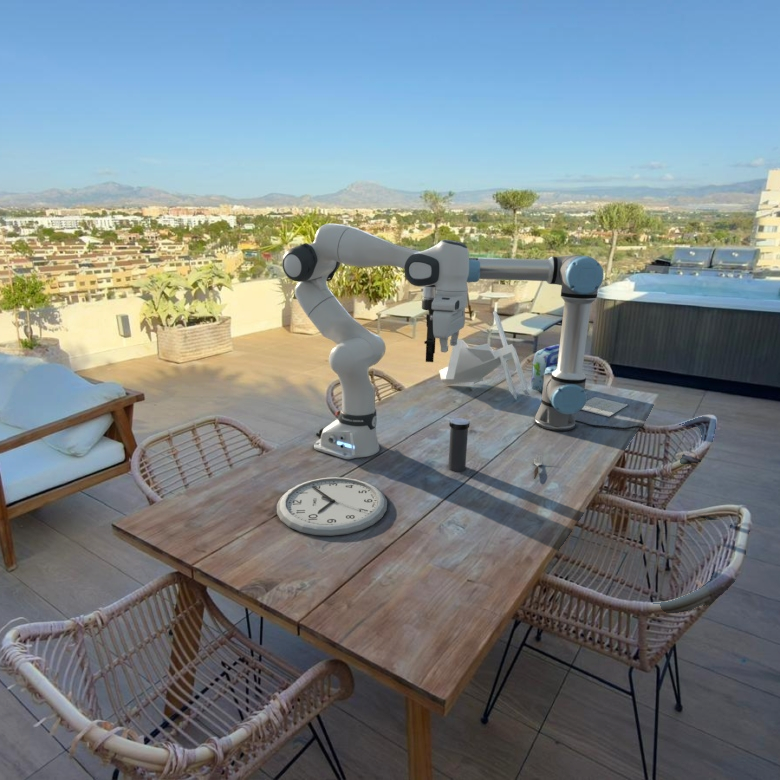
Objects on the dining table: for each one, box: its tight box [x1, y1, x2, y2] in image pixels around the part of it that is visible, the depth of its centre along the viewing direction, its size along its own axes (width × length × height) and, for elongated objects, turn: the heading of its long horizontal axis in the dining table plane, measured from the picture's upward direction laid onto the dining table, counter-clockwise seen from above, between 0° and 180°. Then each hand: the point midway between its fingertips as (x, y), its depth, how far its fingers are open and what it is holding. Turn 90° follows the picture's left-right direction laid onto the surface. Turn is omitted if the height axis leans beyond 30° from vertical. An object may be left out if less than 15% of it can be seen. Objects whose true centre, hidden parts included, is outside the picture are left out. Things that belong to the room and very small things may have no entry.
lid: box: [449, 417, 470, 430], centre depth 162 cm, size 6×6×2 cm
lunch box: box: [530, 344, 560, 393], centre depth 247 cm, size 26×11×21 cm, turn 134°
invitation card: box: [580, 396, 629, 418], centre depth 226 cm, size 21×1×15 cm
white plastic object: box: [438, 310, 531, 400], centre depth 245 cm, size 37×45×31 cm
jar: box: [447, 427, 469, 472], centre depth 164 cm, size 5×5×15 cm
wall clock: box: [276, 476, 388, 537], centre depth 142 cm, size 30×2×30 cm
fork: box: [533, 454, 544, 480], centre depth 165 cm, size 3×16×2 cm, turn 160°
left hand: (449, 348), depth 151 cm, fingers open, 8 cm apart
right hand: (430, 357), depth 190 cm, fingers open, 13 cm apart
